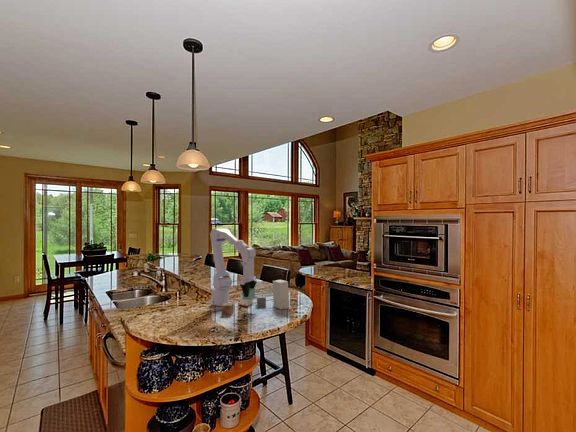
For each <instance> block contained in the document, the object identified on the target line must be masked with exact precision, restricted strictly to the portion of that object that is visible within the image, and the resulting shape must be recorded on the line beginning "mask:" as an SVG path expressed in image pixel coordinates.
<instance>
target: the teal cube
mask: <svg viewBox="0 0 576 432" xmlns="http://www.w3.org/2000/svg"><path fill="white" fill-rule="evenodd" d="M241 291H242V293H241V296H242V299H245V300H252V299H253V300H254V299H256V288H255V287H254V288H249V295H248V297H244V294H243V290H242V289H241Z"/></svg>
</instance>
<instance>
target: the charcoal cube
mask: <svg viewBox="0 0 576 432" xmlns="http://www.w3.org/2000/svg"><path fill="white" fill-rule="evenodd" d="M266 303H267V297H266V295H256V307H259V308H261V307H262V306H264V307H267V304H266Z"/></svg>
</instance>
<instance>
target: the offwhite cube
mask: <svg viewBox="0 0 576 432" xmlns="http://www.w3.org/2000/svg"><path fill="white" fill-rule="evenodd" d="M239 299H240V300H239V301H240V305H241V306H245V307H248V306H251V305H253V300H254V299H252V300H245V299H242V295H240V298H239Z"/></svg>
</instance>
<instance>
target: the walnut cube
mask: <svg viewBox="0 0 576 432" xmlns="http://www.w3.org/2000/svg"><path fill="white" fill-rule="evenodd" d="M234 306H235V303H234V302H232V303H224V304H223V305H222V306H221V316H232V315H233V314H234V312H235V311H234V310H235V307H234Z"/></svg>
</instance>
